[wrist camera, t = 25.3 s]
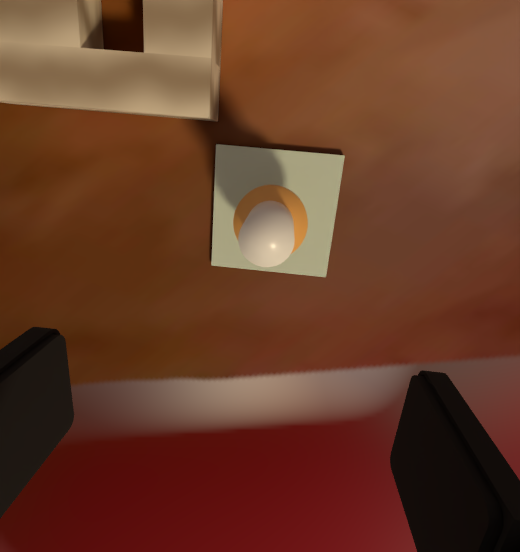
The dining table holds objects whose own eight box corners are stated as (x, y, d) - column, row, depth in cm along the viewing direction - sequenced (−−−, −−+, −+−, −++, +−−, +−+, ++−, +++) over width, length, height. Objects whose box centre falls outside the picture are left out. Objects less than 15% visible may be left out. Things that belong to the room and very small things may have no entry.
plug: (301, 248, 37) (305, 287, 27) (238, 241, 37) (219, 277, 27) (309, 183, 35) (317, 199, 24) (242, 177, 35) (223, 190, 25)
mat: (325, 275, 38) (325, 277, 38) (212, 263, 39) (211, 265, 38) (343, 155, 34) (344, 155, 33) (217, 144, 35) (216, 144, 34)
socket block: (218, 121, 34) (209, 118, 30) (11, 103, 35) (-23, 98, 31) (225, -68, 29) (216, -100, 25) (-15, -83, 30) (-58, -116, 26)
